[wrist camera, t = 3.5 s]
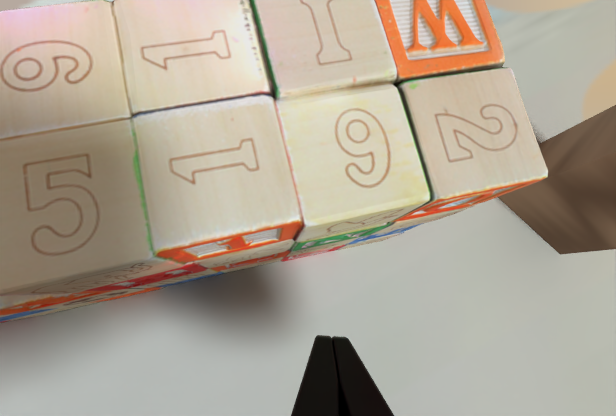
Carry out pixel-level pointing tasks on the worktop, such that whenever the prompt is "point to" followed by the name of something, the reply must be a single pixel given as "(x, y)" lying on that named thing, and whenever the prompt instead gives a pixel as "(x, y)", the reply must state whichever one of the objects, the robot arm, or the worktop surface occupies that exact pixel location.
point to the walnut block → (574, 188)
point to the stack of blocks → (239, 136)
